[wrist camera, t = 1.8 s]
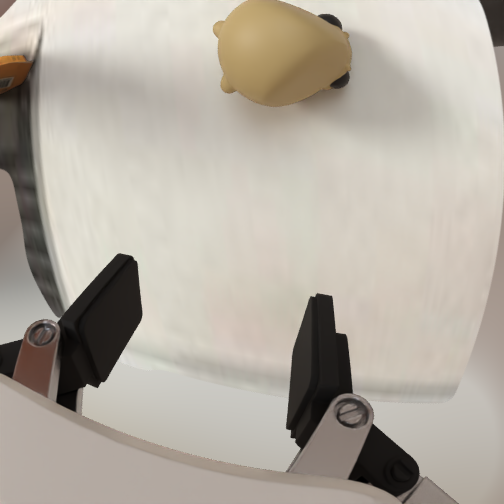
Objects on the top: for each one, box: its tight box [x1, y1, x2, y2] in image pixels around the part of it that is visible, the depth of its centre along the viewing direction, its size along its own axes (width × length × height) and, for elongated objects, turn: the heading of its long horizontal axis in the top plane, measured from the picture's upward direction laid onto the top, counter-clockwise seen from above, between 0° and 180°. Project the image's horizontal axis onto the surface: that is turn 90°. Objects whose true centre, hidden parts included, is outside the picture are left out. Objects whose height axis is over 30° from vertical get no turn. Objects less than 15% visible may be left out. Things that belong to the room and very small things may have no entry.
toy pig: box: [213, 0, 352, 107], centre depth 21 cm, size 10×12×11 cm
